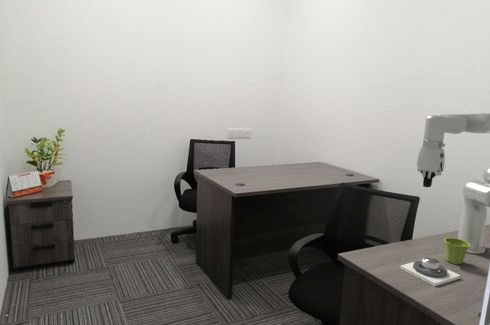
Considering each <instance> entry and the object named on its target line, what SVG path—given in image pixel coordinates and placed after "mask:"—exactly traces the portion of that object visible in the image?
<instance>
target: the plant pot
mask: <svg viewBox="0 0 490 325" xmlns="http://www.w3.org/2000/svg"><path fill="white" fill-rule="evenodd" d="M443 241H444V244H445V260H446V261H447V262H449V263H451V264H454V265H459V264H460V265H462V264H463V262H464V259H465V258H466V253H467V252H466V251H467V249H468V247H469V246H470V243H468V242H466V241H464V240H461V239H458V238H454V237H445V238H444V239H443Z"/></svg>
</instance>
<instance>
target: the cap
mask: <svg viewBox="0 0 490 325" xmlns="http://www.w3.org/2000/svg"><path fill="white" fill-rule="evenodd" d="M421 260H422V265H421V268H422V269H424V270H426V271H430V272H438V271H439V265H441V262H440V261H439V260H438V259H436V258H434V257H429V256H424V257H422V259H421Z"/></svg>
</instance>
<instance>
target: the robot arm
mask: <svg viewBox="0 0 490 325" xmlns="http://www.w3.org/2000/svg"><path fill="white" fill-rule="evenodd" d="M464 132H465V133H470V134H490V113H470V114H469V113H468V114H467V113H463V114H455V113H454V114H440V115H437V114H436V115H434V114H431V115H427V116H426V118H425V125H424V134H423V141H422V146H421V147H420V150H419V152H418V157H417V162H416V167H417V169H416V171H417V172H419V173H421V176H422V178H423V182H422V184H423V185H422V187H424V188H431V187H432V185H433V179H434V178H435V177H437V176H438V177H439V176H442V172H444V169H445V158H446V156H445V149H444V147H446V144H445V143H444V138H445V133H446V134H453V135H458V134H462V133H464ZM482 179H483V181H481V180H476V179H475V180H474V179H473V180H469V181H467V182H466V183H465V184H464V185H463V188H462V209H461V216H460V221H459V222H460V223H459V228H458V234H457V239H461V240H464V241H466V242H468V243H470V246H469V247H468V249H467V251H466V253H467V254H468V253H469V254H475V255H479V254H480V255H481V254H482V255H483V254H484V253H486V248H484V246H483V244H485V243H487V240H486V239H485V238H484V235H485V227H486V222H487V216H488V209H487V207H488V208H490V166H489V167H488V168H487V169H486V170H485V171H484V172H483V174H482Z"/></svg>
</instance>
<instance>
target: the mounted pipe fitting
mask: <svg viewBox="0 0 490 325" xmlns="http://www.w3.org/2000/svg"><path fill="white" fill-rule="evenodd" d="M421 265H422V259H421V260H417V261H414V262H412V261H411V262H409V263H405V264H401V265H399V269H400V270H402V271H404V272H406V273H408V274H410V275H412V276H414V277H416V278H418V279H419V280H422V281H424V282H425V283H427V284H429V285H431V286H433V287H437V286H440V285H443V284H447V283H449V282H450V283H451V282H453V281H456V280H459V279H461V276H462V275H461V274H458V273H456V272H454V271H452V270H450V269H448V268H446V267H445V266H443V265H441V264H439V271H438V272H430V271H426V270H424V269H422V268H421Z"/></svg>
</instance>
